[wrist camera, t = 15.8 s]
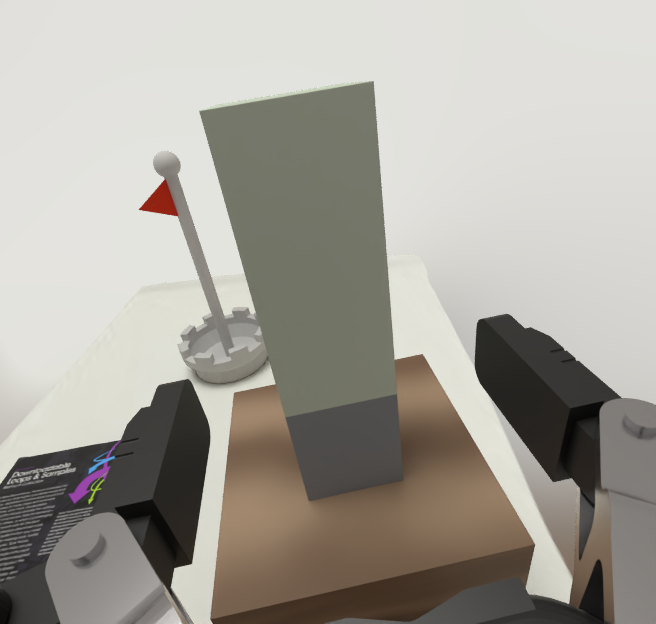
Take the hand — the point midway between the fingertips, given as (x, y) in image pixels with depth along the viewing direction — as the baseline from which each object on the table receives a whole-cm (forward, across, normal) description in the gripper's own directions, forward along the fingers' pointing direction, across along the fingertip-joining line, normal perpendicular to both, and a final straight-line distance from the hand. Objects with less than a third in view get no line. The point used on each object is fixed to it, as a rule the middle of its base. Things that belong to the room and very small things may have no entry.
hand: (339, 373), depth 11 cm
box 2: (+7, 0, +11) cm, 13 cm away
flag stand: (+42, +13, +27) cm, 52 cm away
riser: (+7, 0, +27) cm, 28 cm away
